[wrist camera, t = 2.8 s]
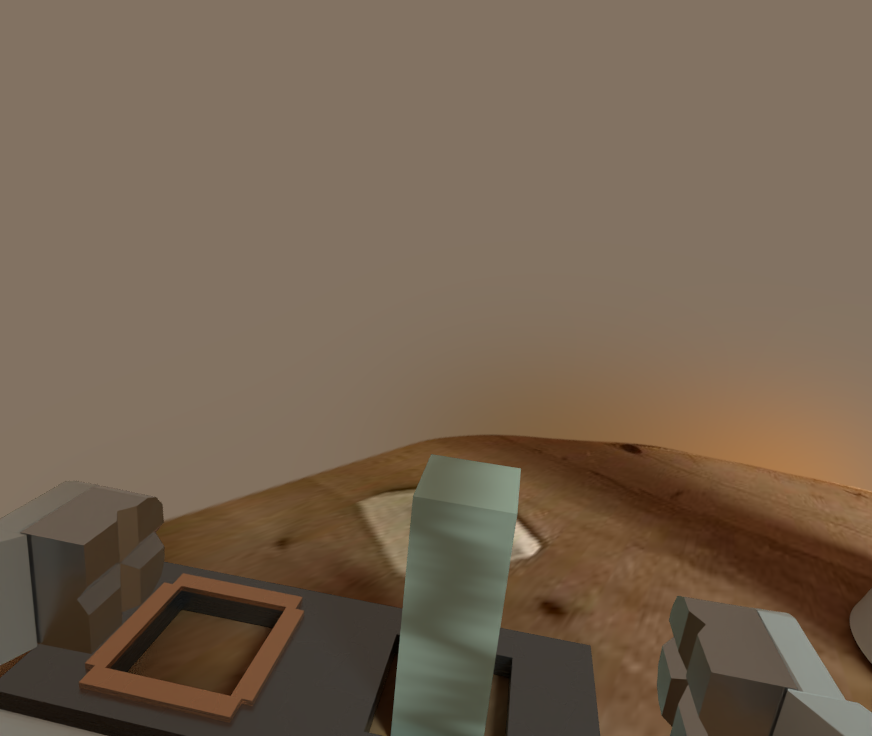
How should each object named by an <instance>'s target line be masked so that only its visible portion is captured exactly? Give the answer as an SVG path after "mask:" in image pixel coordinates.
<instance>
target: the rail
mask: <svg viewBox="0 0 872 736" xmlns="http://www.w3.org/2000/svg"><path fill="white" fill-rule="evenodd" d="M182 609H184V610H189V611H193V612H198V613H203V614H208V615H213V616H218V617H222V618H227V619H232V620H237V621H242V622H246V623H251V624H256V625H261V626H266V627H271V628H273V629H272V631H271V632H270V634H269V636H268V637H267V639H266V640H265V642H264V643H263V645H262V647H261V648H260V650H259V651H258V653H257V655H256V656H255V658H254V659H253V661H252V663H251V664H250V666H249V667H248V669H247V671H246V672H245V674H244V675H243V677H242V679H241V680H240V682H239V683H238V685H237V687H236V688H235V690H234V691H233V693H232V695H231V696H229V695H224V694H220V693H215V692H211V691H207V690H202V689H198V688H193V687H189V686H184V685H180V684H176V683H171V682H167V681H162V680H158V679H153V678H149V677H144V676H140V675H136V674H131V673H127V671H128V670H129V669H130V668H131V667H132V665H133V664H134V663H135V662H136V661H137V660H138V659H139V657H140V656H141V655H142V654H143V653H144V652H145V651H146V650H147V648H148V647H149V646H150V645H151V644H152V643H153V642H154V640H155V639H156V638H157V637H158V636H159V635H160V634H161V632H162V631H163V630H164V629H165V628H166V627H167V626H168V624H169V623H170V622H171V621H172V620H173V619H174V618H175V616H176V615H177V614H178V613H179V612H180V611H181V610H182ZM402 610H403V609H402V608H397V607H392V606H386V605H381V604H376V603H371V602H366V601H361V600H356V599H351V598H346V597H341V596H336V595H331V594H325V593H320V592H315V591H310V590H305V589H300V588H295V587H290V586H285V585H280V584H275V583H269V582H264V581H259V580H254V579H249V578H244V577H239V576H234V575H229V574H224V573H219V572H214V571H208V570H203V569H198V568H193V567H188V566H183V565H178V564H173V563H168V562H164V565H163V570H162V575H161V577H160V579H159V581H158V583H157V585H156V587H155V589H154V591H153V592H152V593H151V595H150V596H149V597H148V598H147V599H146V600H145V601H144V602H143V603H142V604H141V605H139V606H136V607H134V608H131V609H129V610H126V611H124V612H122V624H121V625H120V626H119V627H118V628H117V629H116V630H115V631H114V632H113V633H112V634H111V635H110V636H109V637H108V638H107V639H106V640H105V641H104V642H103V643H102V644H101V645H100V646H99V647H98V648H97V649H96V650H95V651H94V652H93V653H92V654H89V653H83V652H78V651H73V650H68V649H63V648H58V647H53V646H47V645H42V644H38V646H37V647H36V648H34V649H32V650H31V651H30V652H29V653H28V654H27V655H26V656H24V657H23V658H22V659H21V660H20V661H19V662H18V663H16V664H15V665H14V666H13V667H12V668H11V669H10V670H9V671H7V672H6V673H5V674H4V675H3V676H2V677H1V678H0V709H2V710H6V711H10V712H14V713H18V714H22V715H26V716H30V717H34V718H38V719H42V720H46V721H50V722H54V723H58V724H62V725H66V726H70V727H74V728H78V729H83V730H87V731H91V732H95V733H99V734H103V735H107V736H381V735H376V734H372V733H369V731H370V728H371V725H372V722H373V718H374V715H375V712H376V709H377V706H378V703H379V700H380V697H381V694H382V691H383V688H384V685H385V682H386V678H387V675H388V672H389V669H390V666H391V663H392V660H393V657H394V654H395V653H396V654H398V653H399V642H400V631H401V621H402ZM493 674H497V675H502V676H507V677H509V691H508V706H507V720H506V735H505V736H600V731H599V721H598V712H597V702H596V693H595V683H594V674H593V665H592V655H591V646H590V645H585V644H580V643H575V642H569V641H564V640H559V639H554V638H549V637H544V636H539V635H534V634H529V633H524V632H519V631H514V630H508V629H503V628H500V632H499V638H498V645H497V652H496V658H495V665H494V672H493Z"/></svg>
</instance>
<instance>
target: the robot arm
mask: <svg viewBox="0 0 872 736" xmlns="http://www.w3.org/2000/svg"><path fill="white" fill-rule="evenodd" d="M163 523H164V520H163V507H162V503H161V502H160V501H159V500H158V499H157V498H156V497H153V496H148V495H143V494H138V493H133V492H129V491H124V490H119V489H115V488H109V487H105V486H99V485H96V484H91V483H85V482H79V481H65V482H63V483H61V484H59V485H58V486H56V487H54V488H53V489H51V490H49V491H47V492H46V493H44V494H42V495H40V496H39V497H37V498H35V499H34V500H32V501H30V502H28V503H27V504H25V505H23V506H21V507H20V508H18V509H16V510H14V511H13V512H11V513H9V514H7V515H6V516H4V517H2V518H1V519H0V665H2V664H4V663H6V662H8V661H10V660H12V659H14V658H16V657H18V656H20V655H22V654H24V653H26V652H28V651H30V650H32V649H34V648H36V647H37V646H38V644H42V645H47V646H53V647H58V648H63V649H68V650H73V651H78V652H83V653H89V654H92V653H93V652H94V651H95V650H96V649H97V648H98V647H99V646H100V645H101V644H102V643H103V642H104V641H105V640H106V639H107V638H108V637H109V636H110V635H111V634H112V633H113V632H114V631H115V630H116V629H117V628H118V627H119V626H120V625H121V624H122V612H124V611H126V610H129V609H131V608H134V607H136V606H139V605H141V604H142V603H143V602H144V601H145V600H146V599H147V598H148V597H149V596H150V595H151V593H152V592H153V591H154V589H155V587H156V585H157V583H158V581H159V579H160V577H161V575H162V570H163V565H164V545H163V544H162V542H161V541H160V539H159V538H158V536H157V535H156V533H155V532H156V531H157V530H158V529H159V527H160V526H161V525H162V524H163ZM669 621H670V625H671V628H672V632H673V635H674V637H673V638H672V639H670V640H669V641H668V642H667V643H665V644H664V645H663V646H662V651H661V655H660V660H659V664H658V679H657V689H658V700H659V705H660V710H661V714H662V716H663V718H664V719H665V720H666V721H667V722H668V723H669V724H670V725H671V726H672V730H671V734H670V736H872V713H871V712H870V711H869V710H867V709H866V708H865V707H863V706H862V705H861V704H859V703H855V702H851V701H846V700H845V698H844V696H843V695H842V693H841V692H840V690H839V688H838V687H837V685H836V684H835V682H834V680H833V679H832V677H831V675H830V674H829V672H828V671H827V669H826V667H825V666H824V664H823V663H822V661H821V659H820V658H819V656H818V654H817V653H816V651H815V650H814V648H813V646H812V645H811V643H810V642H809V640H808V638H807V637H806V635H805V633H804V632H803V630H802V629H801V627H800V625H799V624H798V622H797V621H796V619H795V618H794V617H793V616H791V615H790V614H788V613H784V612H777V611H770V610H764V609H757V608H748V607H742V606H736V605H730V604H724V603H718V602H712V601H706V600H700V599H693V598H687V597H681V596H677V598H676V600H675V602H674V604H673V607H672V610H671V614H670V618H669ZM850 627H851V631H852V634H853V636H854V638H855V641H856V642H857V644H858V646H859V647H860V649H861V650H862V652H863V653H864V655H865V656H866V657H867V659H868V660H869V661H870V662H871V663H872V588H871V589H870V590H869V591H868V593H867V594H866V595H865V596H864V597H863V598H862V599H861V600H860V601H859V602H858V603H857V604H856V605H855V606H854V608H853V609H852V611H851V614H850ZM0 736H107V735H103V734H99V733H95V732H91V731H87V730H83V729H78V728H74V727H70V726H66V725H62V724H58V723H54V722H50V721H46V720H42V719H38V718H34V717H30V716H26V715H22V714H18V713H14V712H10V711H6V710H2V709H0Z"/></svg>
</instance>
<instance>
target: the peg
mask: <svg viewBox="0 0 872 736" xmlns="http://www.w3.org/2000/svg"><path fill="white" fill-rule="evenodd" d="M520 473H521V469H520V468H514V467H508V466H501V465H495V464H489V463H483V462H476V461H470V460H464V459H458V458H451V457H445V456H439V455H433V454H431V456H430V459H429V461H428V463H427V466H426V468H425V470H424V472H423V475H422V477H421V479H420V482H419V484H418V486H417V489H416V491H415V493H414V495H413V503H412V514H411V525H410V535H409V546H408V557H407V567H406V578H405V589H404V599H403V610H402V621H401V631H400V642H399V653H398V663H397V674H396V685H395V695H394V706H393V717H392V727H391V736H484V732H485V725H486V718H487V712H488V705H489V698H490V692H491V685H492V678H493V672H494V665H495V658H496V652H497V645H498V638H499V632H500V625H501V618H502V612H503V605H504V598H505V592H506V585H507V578H508V572H509V565H510V558H511V552H512V545H513V538H514V532H515V525H516V518H517V510H518V498H519V485H520Z"/></svg>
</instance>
